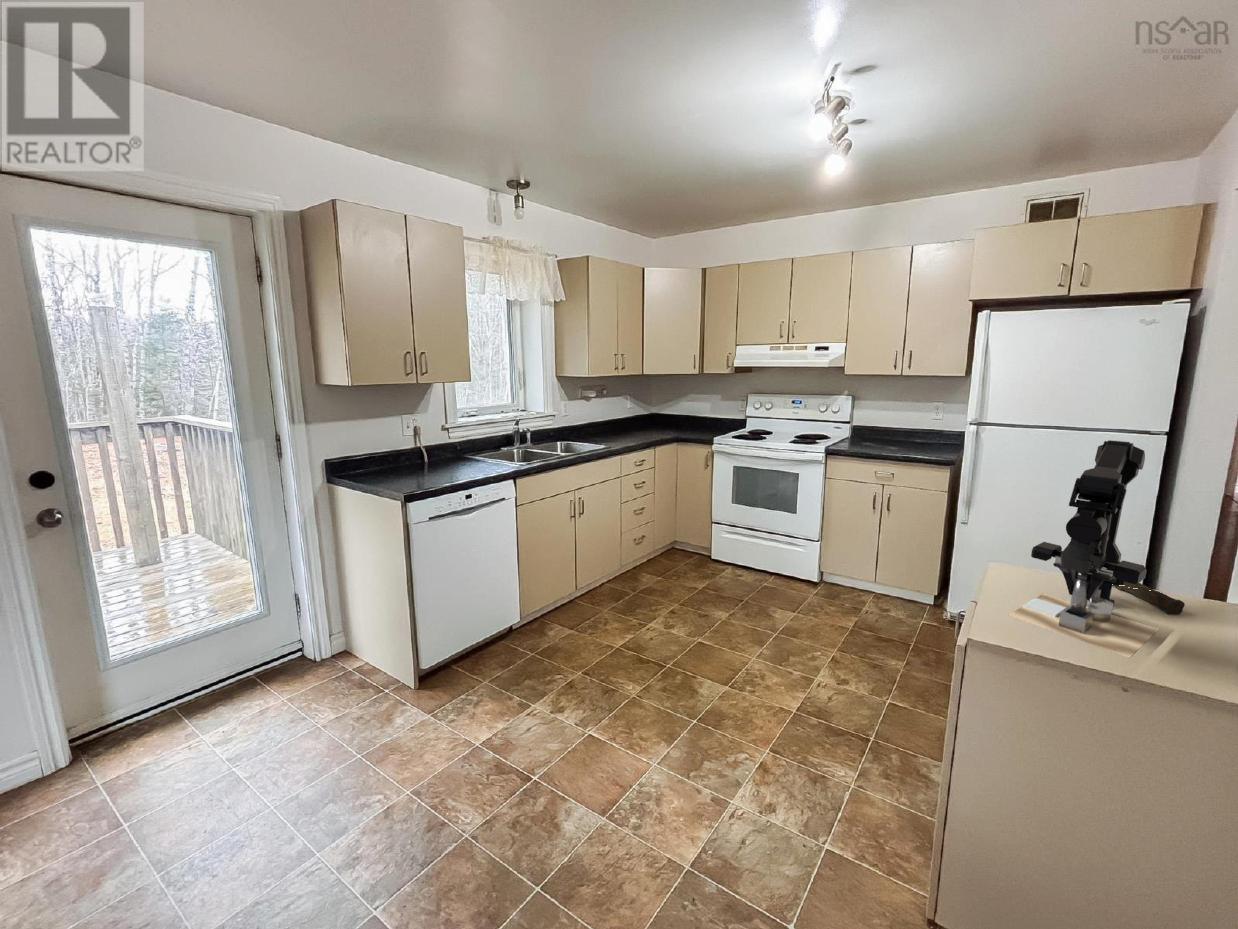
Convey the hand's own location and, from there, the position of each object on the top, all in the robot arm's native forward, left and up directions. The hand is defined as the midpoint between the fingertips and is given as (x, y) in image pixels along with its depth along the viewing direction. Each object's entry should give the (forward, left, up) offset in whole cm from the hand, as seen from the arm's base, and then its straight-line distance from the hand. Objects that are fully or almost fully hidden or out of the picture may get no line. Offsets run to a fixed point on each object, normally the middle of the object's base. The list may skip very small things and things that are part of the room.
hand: (1079, 597), depth 122 cm
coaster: (-5, -7, -7) cm, 12 cm away
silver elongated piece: (-5, 0, -7) cm, 9 cm away
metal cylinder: (0, 0, -4) cm, 4 cm away
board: (-4, 0, -9) cm, 10 cm away
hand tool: (-34, +3, -9) cm, 36 cm away
